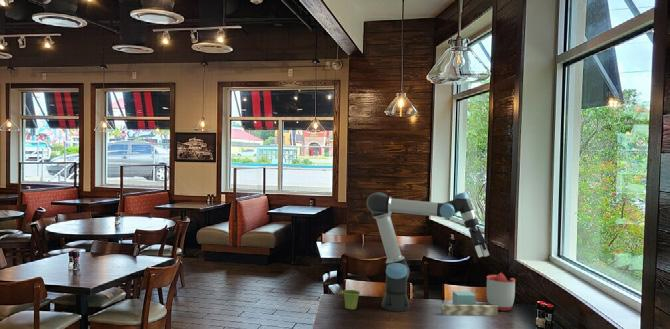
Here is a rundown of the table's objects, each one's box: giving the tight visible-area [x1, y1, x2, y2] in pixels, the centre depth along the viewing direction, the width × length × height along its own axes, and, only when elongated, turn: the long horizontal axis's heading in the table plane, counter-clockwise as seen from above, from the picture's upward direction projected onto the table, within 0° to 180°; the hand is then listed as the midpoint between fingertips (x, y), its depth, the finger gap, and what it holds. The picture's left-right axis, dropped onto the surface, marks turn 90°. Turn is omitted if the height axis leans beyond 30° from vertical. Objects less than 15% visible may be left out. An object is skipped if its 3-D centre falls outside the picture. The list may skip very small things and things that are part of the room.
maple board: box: [440, 304, 499, 317], centre depth 241 cm, size 30×2×5 cm, turn 93°
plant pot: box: [342, 289, 361, 310], centre depth 246 cm, size 9×9×9 cm
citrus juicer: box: [486, 272, 516, 312], centre depth 256 cm, size 16×17×20 cm
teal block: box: [451, 290, 476, 305], centre depth 250 cm, size 10×8×9 cm
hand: (484, 256), depth 247 cm, fingers open, 13 cm apart
